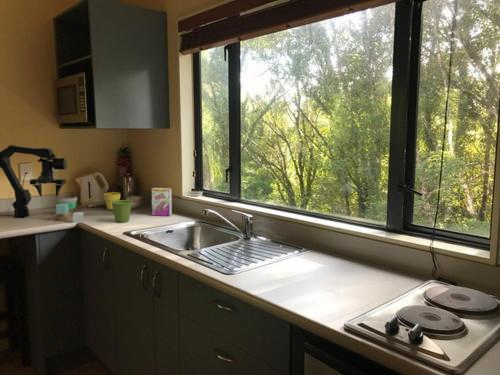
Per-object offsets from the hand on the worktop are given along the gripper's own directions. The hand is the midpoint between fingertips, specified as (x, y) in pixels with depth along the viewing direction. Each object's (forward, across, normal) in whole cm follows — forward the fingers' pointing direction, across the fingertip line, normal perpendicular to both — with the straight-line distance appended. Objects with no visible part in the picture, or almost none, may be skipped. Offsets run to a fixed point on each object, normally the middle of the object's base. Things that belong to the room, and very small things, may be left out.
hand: (48, 196), depth 248 cm
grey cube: (+12, +22, -15) cm, 29 cm away
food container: (+12, +9, +7) cm, 17 cm away
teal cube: (+8, +11, -9) cm, 16 cm away
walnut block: (+12, +11, -9) cm, 19 cm away
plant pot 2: (+12, +46, -14) cm, 50 cm away
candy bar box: (+12, +65, +3) cm, 66 cm away
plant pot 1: (+12, +29, +26) cm, 41 cm away
